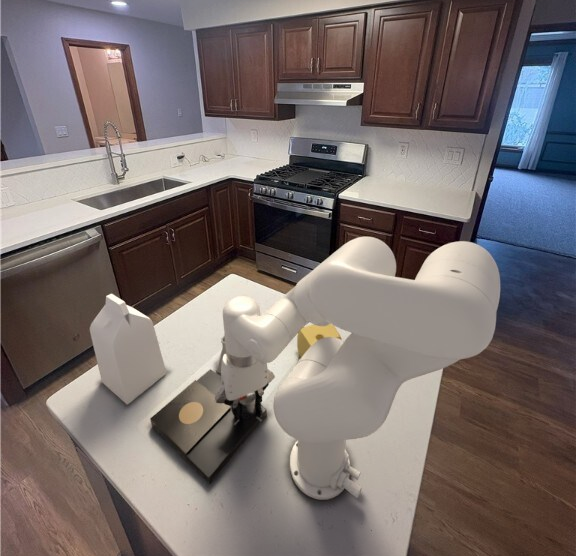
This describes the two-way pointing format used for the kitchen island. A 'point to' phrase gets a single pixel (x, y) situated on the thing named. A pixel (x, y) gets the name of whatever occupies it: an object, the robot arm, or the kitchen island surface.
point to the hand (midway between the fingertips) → (247, 408)
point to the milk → (126, 349)
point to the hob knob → (248, 405)
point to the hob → (218, 436)
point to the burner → (190, 416)
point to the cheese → (314, 336)
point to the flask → (221, 355)
